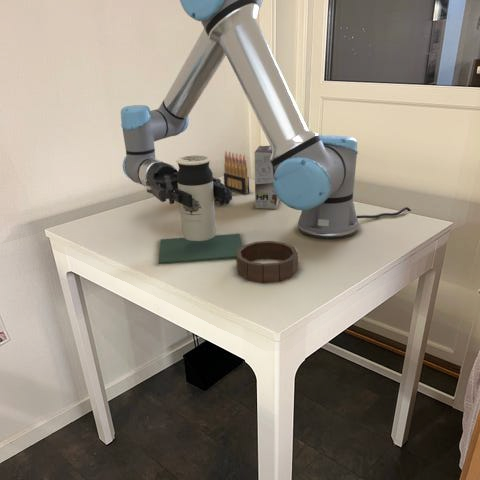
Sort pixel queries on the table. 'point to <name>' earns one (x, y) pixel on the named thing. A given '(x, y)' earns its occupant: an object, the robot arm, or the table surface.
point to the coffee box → (264, 179)
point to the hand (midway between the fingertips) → (207, 197)
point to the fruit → (227, 194)
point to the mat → (199, 249)
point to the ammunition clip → (236, 173)
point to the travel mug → (197, 197)
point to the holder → (266, 270)
